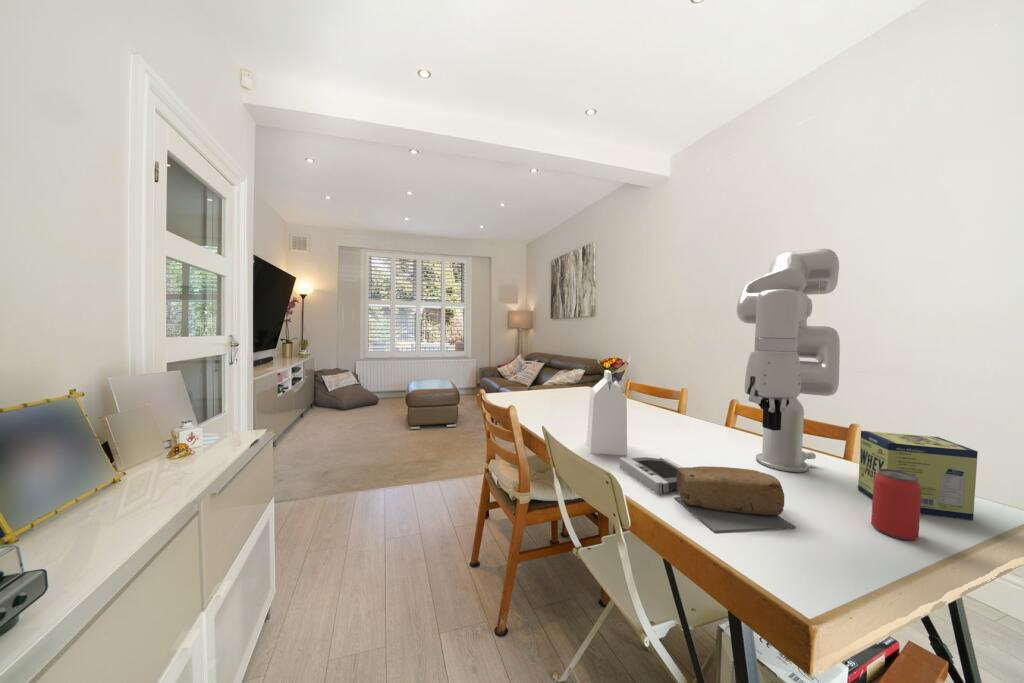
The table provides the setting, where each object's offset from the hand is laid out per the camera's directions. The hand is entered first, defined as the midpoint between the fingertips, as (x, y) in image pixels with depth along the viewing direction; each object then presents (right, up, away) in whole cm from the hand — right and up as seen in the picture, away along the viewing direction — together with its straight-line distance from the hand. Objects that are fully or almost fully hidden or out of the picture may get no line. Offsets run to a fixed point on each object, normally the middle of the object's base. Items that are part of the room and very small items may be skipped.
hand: (771, 428), depth 79 cm
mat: (-9, -19, 0) cm, 21 cm away
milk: (-26, -17, +41) cm, 51 cm away
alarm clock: (-16, -18, +18) cm, 31 cm away
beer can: (+20, -19, -7) cm, 29 cm away
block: (+1, -14, +1) cm, 14 cm away
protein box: (+36, -19, +5) cm, 42 cm away
